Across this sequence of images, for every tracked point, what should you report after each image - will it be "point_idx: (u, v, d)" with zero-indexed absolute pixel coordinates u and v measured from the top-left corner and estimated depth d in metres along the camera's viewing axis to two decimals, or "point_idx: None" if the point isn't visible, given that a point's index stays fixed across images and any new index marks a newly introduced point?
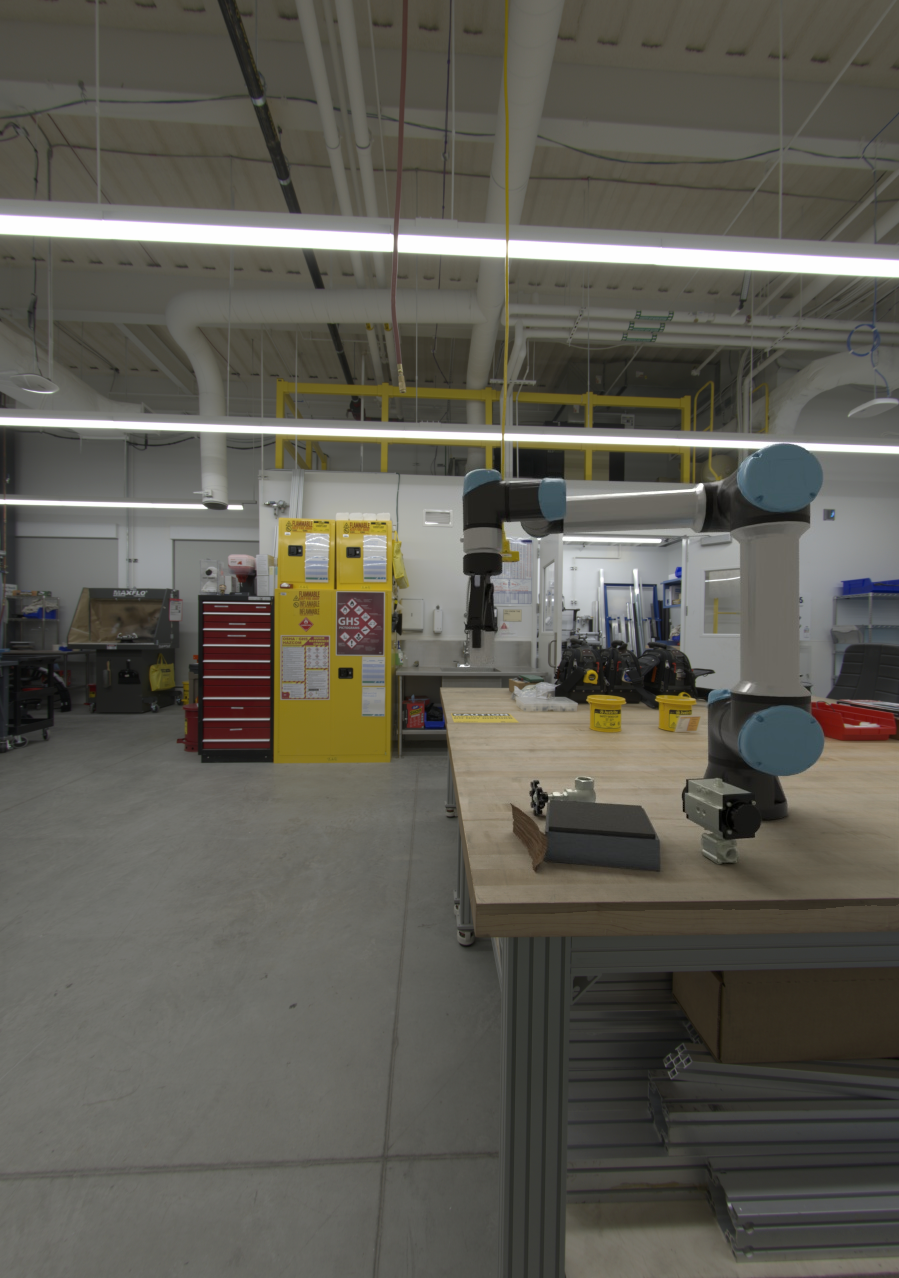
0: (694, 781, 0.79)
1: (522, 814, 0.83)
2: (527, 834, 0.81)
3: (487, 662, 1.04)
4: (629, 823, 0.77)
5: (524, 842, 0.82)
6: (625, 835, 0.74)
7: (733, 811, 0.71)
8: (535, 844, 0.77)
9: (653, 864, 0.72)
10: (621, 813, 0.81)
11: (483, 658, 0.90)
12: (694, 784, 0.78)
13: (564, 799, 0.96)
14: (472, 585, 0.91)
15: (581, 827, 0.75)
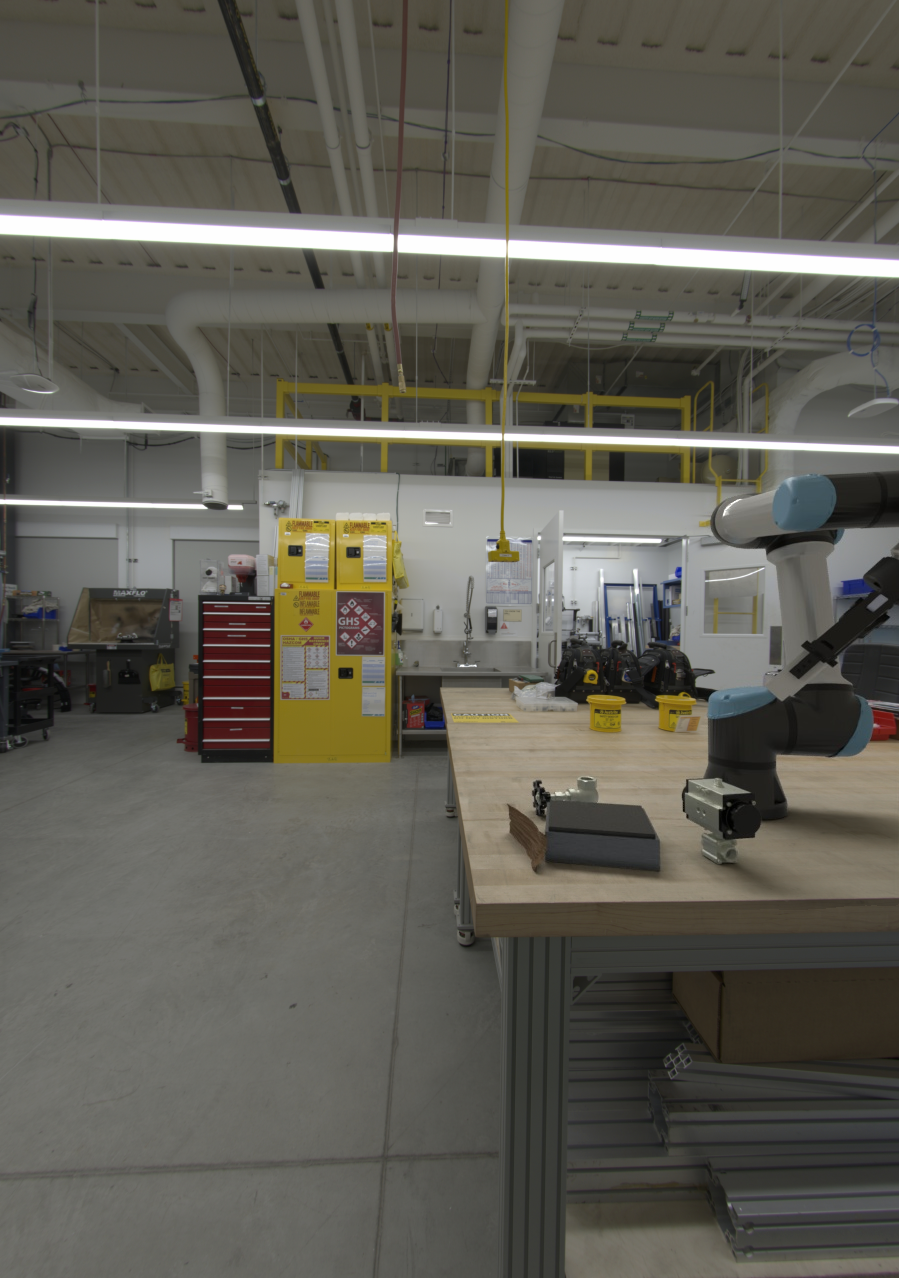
0: (694, 781, 0.79)
1: (520, 814, 0.83)
2: (525, 834, 0.81)
3: None
4: (629, 823, 0.77)
5: (522, 842, 0.82)
6: (625, 835, 0.74)
7: (733, 811, 0.71)
8: (534, 844, 0.77)
9: (653, 864, 0.72)
10: (621, 813, 0.81)
11: None
12: (694, 784, 0.78)
13: (566, 799, 0.96)
14: None
15: (581, 827, 0.75)
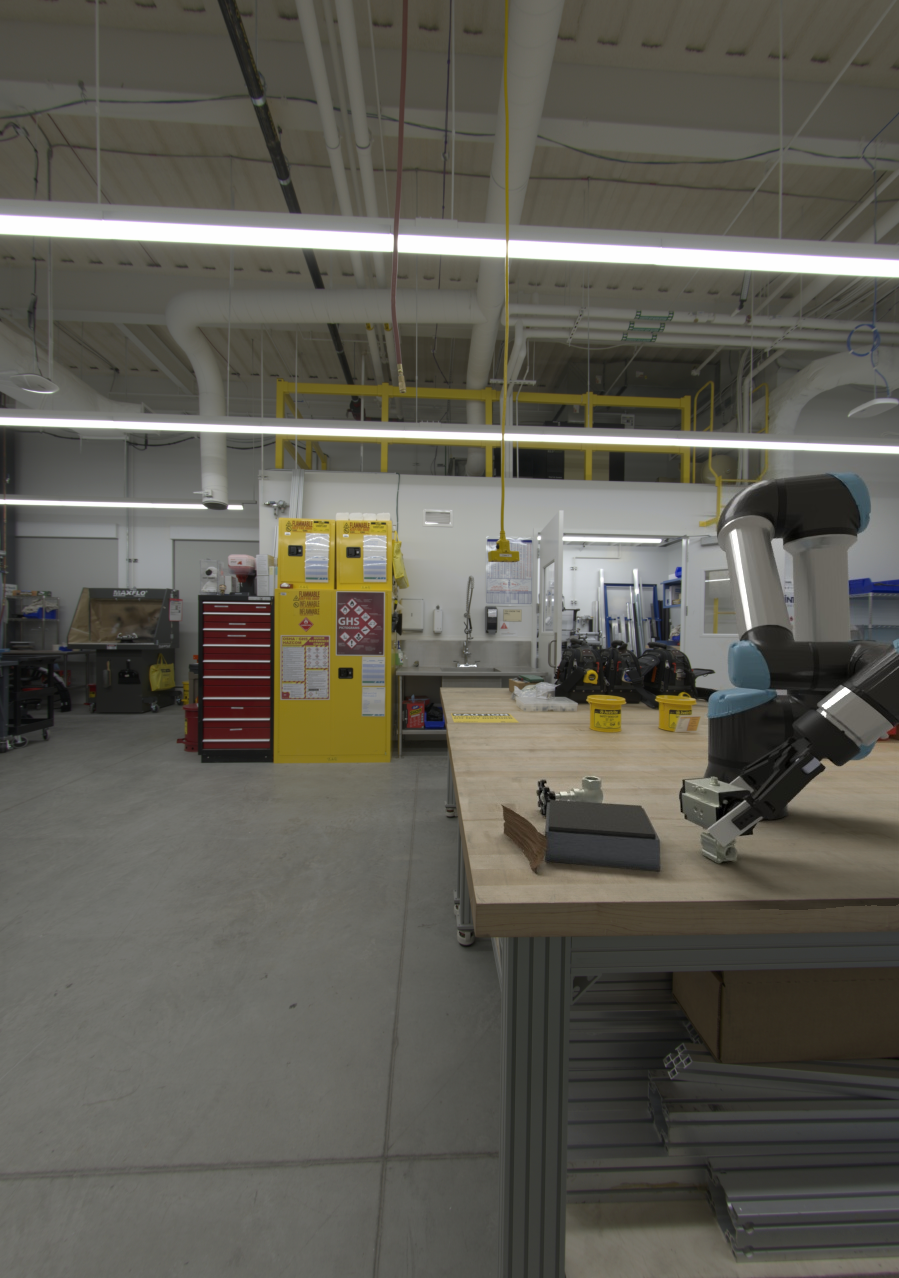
0: (690, 781, 0.79)
1: (516, 815, 0.82)
2: (521, 835, 0.80)
3: None
4: (629, 823, 0.77)
5: (518, 843, 0.81)
6: (625, 835, 0.74)
7: (730, 808, 0.71)
8: (532, 845, 0.77)
9: (653, 864, 0.72)
10: (621, 813, 0.81)
11: None
12: (690, 784, 0.78)
13: (571, 798, 0.96)
14: None
15: (581, 827, 0.75)
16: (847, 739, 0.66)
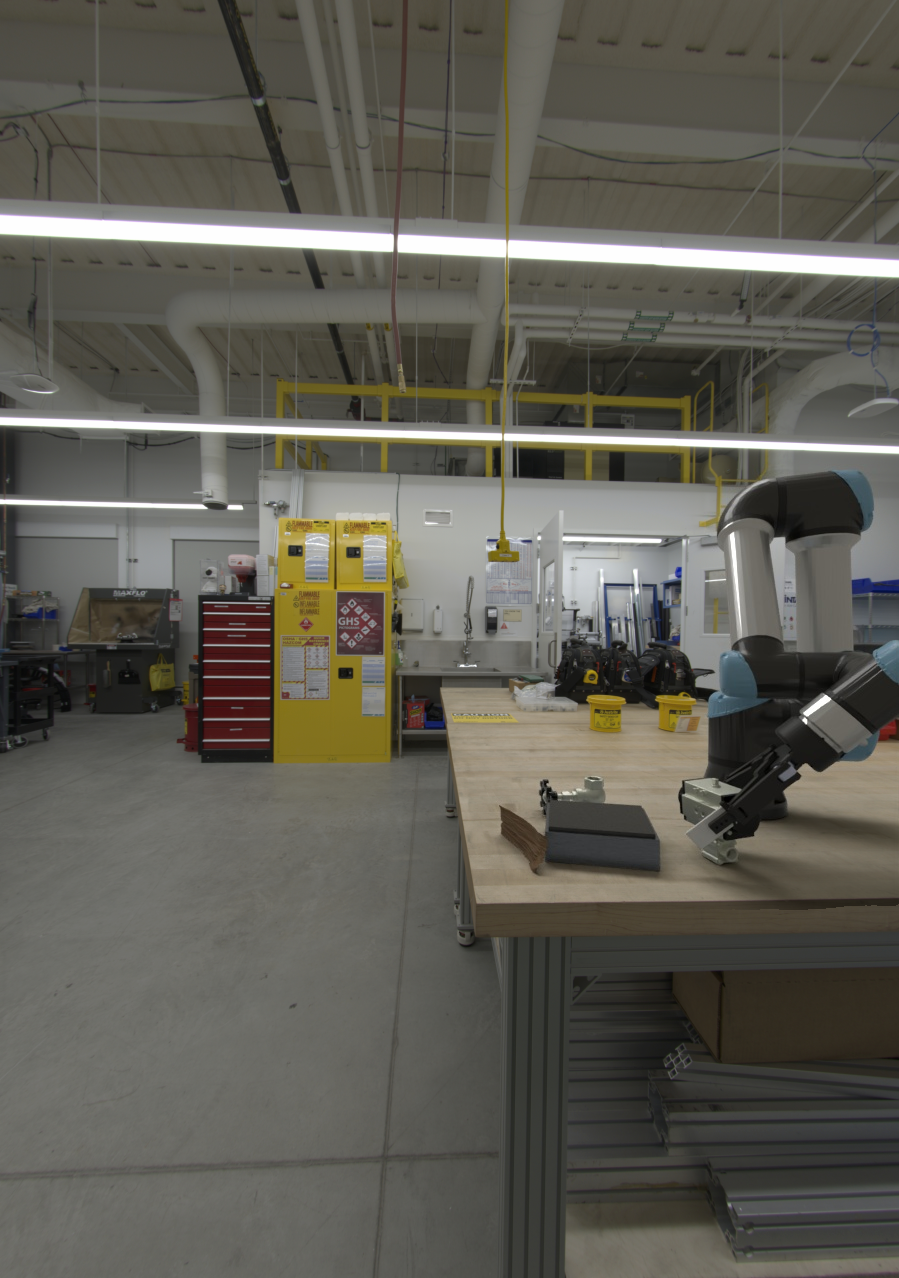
0: (690, 782, 0.78)
1: (514, 815, 0.82)
2: (520, 836, 0.80)
3: None
4: (629, 823, 0.77)
5: (516, 844, 0.81)
6: (625, 835, 0.74)
7: None
8: (531, 846, 0.76)
9: (653, 864, 0.72)
10: (621, 813, 0.81)
11: None
12: (691, 785, 0.78)
13: (573, 798, 0.96)
14: None
15: (581, 827, 0.75)
16: (827, 746, 0.67)
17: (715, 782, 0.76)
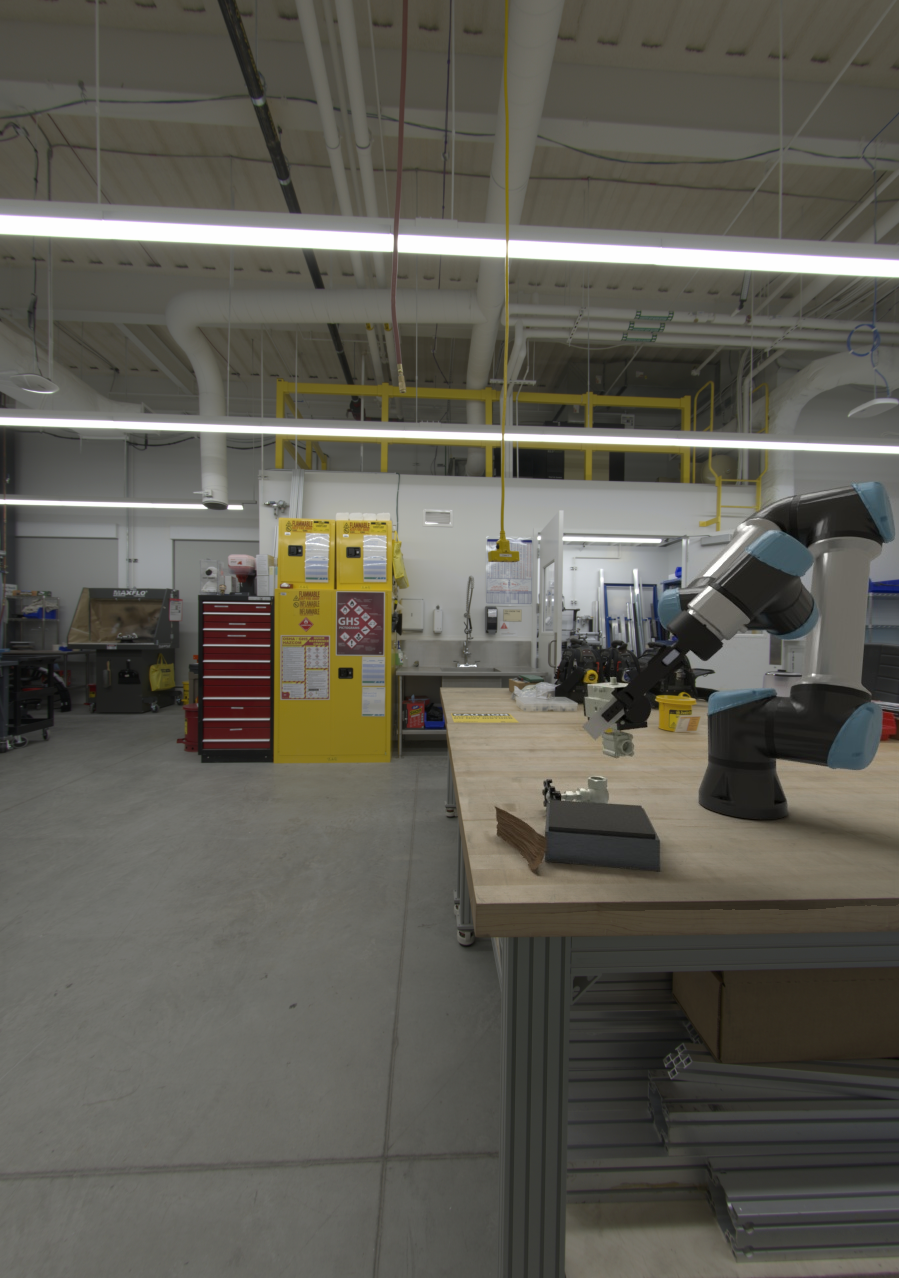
0: (592, 684, 0.81)
1: (510, 816, 0.82)
2: (517, 836, 0.80)
3: None
4: (629, 823, 0.77)
5: (513, 845, 0.81)
6: (625, 835, 0.74)
7: None
8: (529, 846, 0.76)
9: (653, 864, 0.72)
10: (621, 813, 0.81)
11: None
12: (592, 686, 0.80)
13: (577, 798, 0.96)
14: None
15: (581, 827, 0.75)
16: (708, 631, 0.70)
17: (613, 680, 0.78)
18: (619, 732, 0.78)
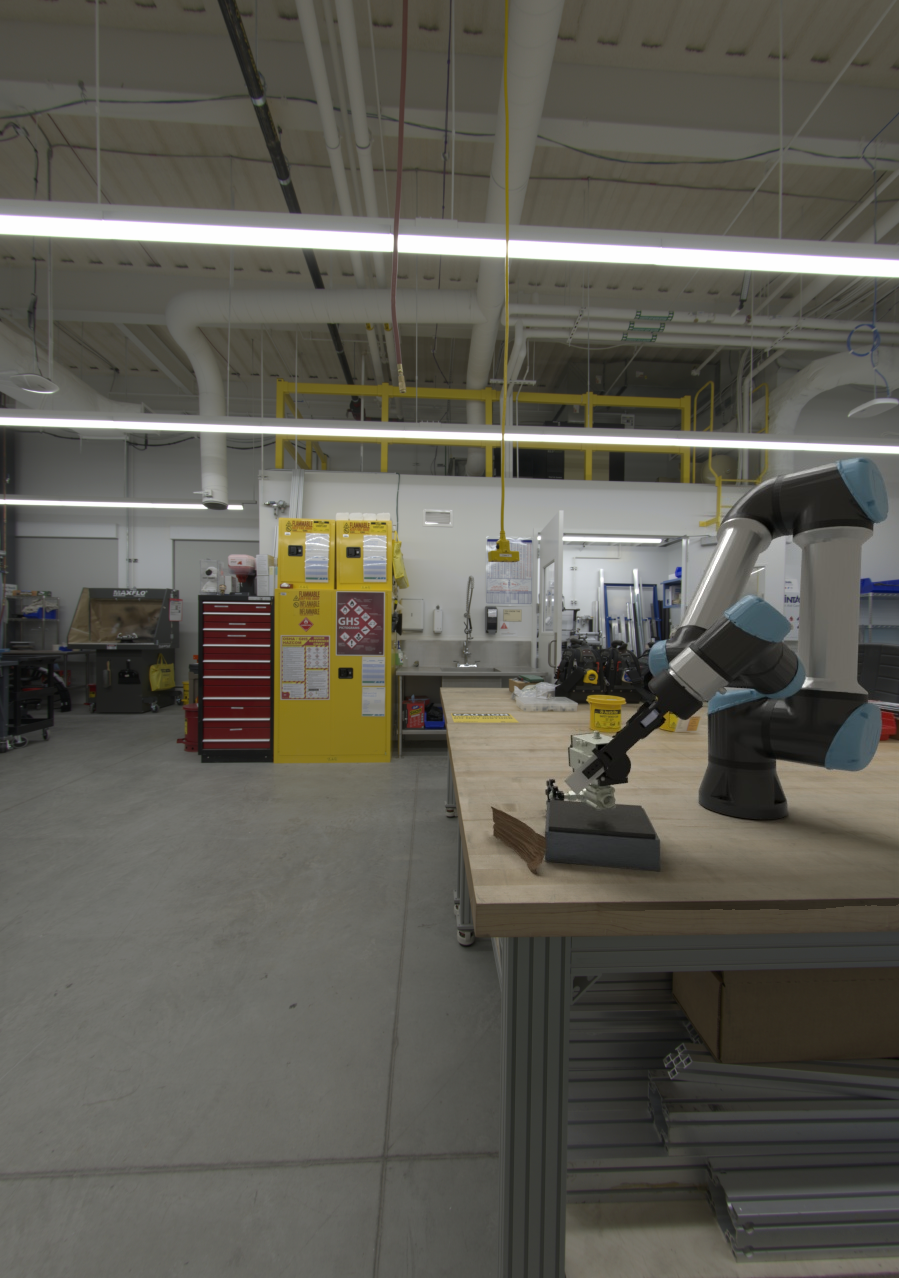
0: (577, 736, 0.83)
1: (508, 816, 0.82)
2: (515, 837, 0.80)
3: None
4: (629, 823, 0.77)
5: (510, 845, 0.81)
6: (625, 835, 0.74)
7: None
8: (528, 846, 0.76)
9: (653, 864, 0.72)
10: (621, 813, 0.81)
11: None
12: (576, 738, 0.82)
13: (580, 798, 0.96)
14: None
15: (581, 827, 0.75)
16: (686, 694, 0.72)
17: (596, 734, 0.80)
18: None
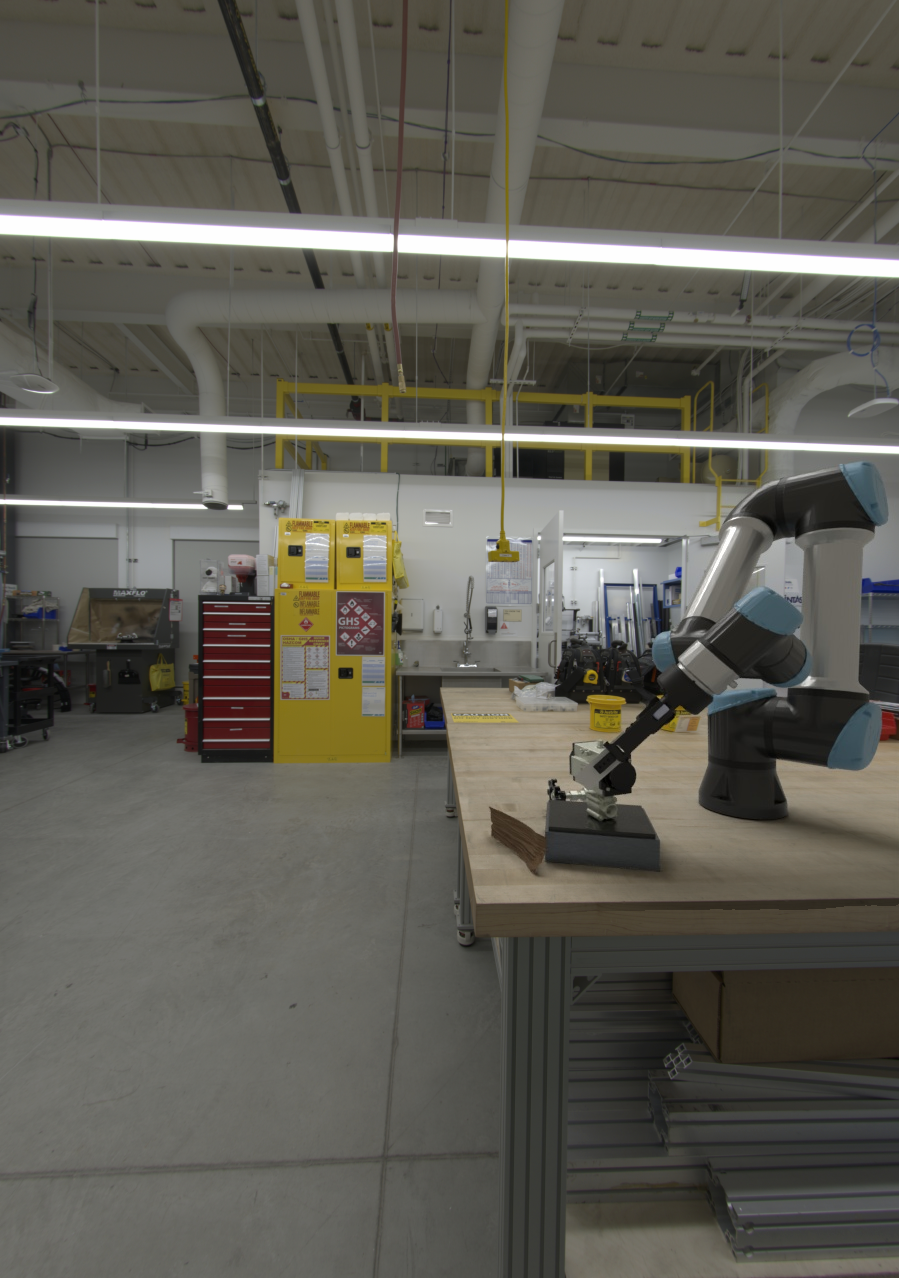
0: (579, 744, 0.82)
1: (506, 817, 0.82)
2: (514, 837, 0.80)
3: None
4: (629, 823, 0.77)
5: (509, 845, 0.81)
6: (625, 835, 0.74)
7: None
8: (527, 846, 0.76)
9: (653, 864, 0.72)
10: (621, 813, 0.81)
11: None
12: (579, 747, 0.81)
13: (582, 798, 0.96)
14: None
15: (581, 827, 0.75)
16: (696, 688, 0.70)
17: (600, 743, 0.79)
18: None
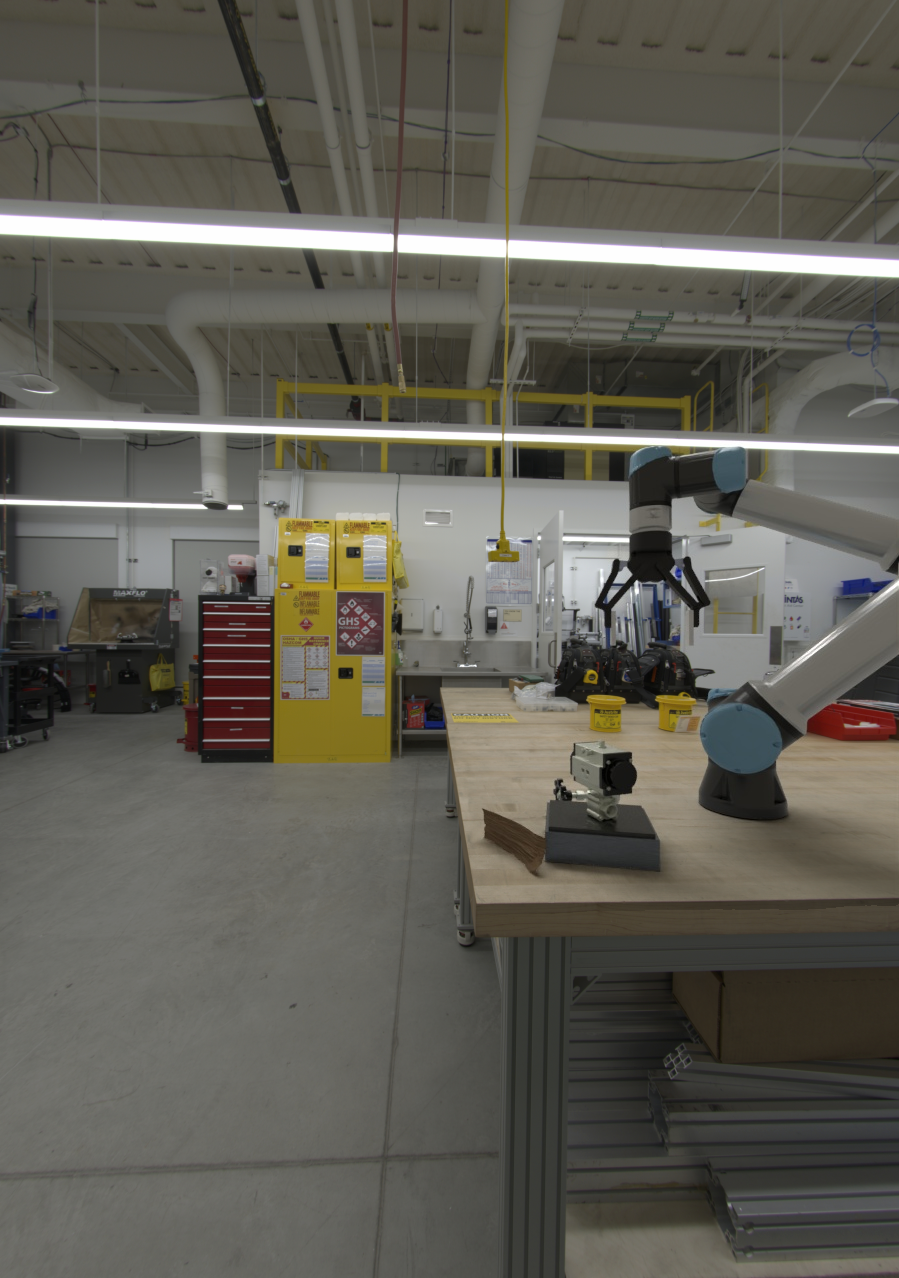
0: (580, 744, 0.82)
1: (501, 818, 0.81)
2: (509, 838, 0.79)
3: None
4: (629, 823, 0.77)
5: (504, 847, 0.80)
6: (625, 835, 0.74)
7: (611, 768, 0.74)
8: (525, 847, 0.76)
9: (653, 864, 0.72)
10: (621, 813, 0.81)
11: None
12: (580, 747, 0.82)
13: None
14: None
15: (581, 827, 0.75)
16: (631, 535, 0.96)
17: (601, 743, 0.80)
18: (604, 794, 0.79)
